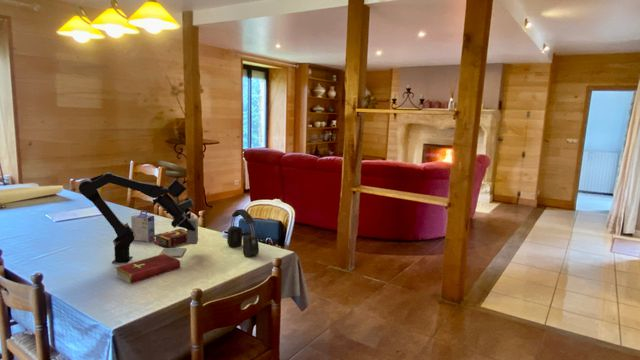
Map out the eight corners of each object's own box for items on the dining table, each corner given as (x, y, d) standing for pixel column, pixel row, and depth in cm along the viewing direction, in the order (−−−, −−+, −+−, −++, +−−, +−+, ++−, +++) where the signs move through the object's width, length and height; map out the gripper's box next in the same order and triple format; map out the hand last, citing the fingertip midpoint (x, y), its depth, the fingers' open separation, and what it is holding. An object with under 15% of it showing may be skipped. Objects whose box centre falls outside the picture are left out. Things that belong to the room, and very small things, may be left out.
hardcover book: (180, 269, 162) (180, 259, 162) (130, 285, 146) (129, 274, 146) (165, 261, 170) (164, 252, 169) (115, 276, 154) (115, 266, 153)
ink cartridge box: (155, 238, 198) (154, 211, 196) (149, 241, 193) (147, 213, 191) (138, 236, 200) (137, 209, 198) (131, 240, 195) (129, 212, 193)
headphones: (260, 256, 179) (260, 214, 176) (248, 259, 175) (248, 216, 172) (237, 243, 196) (237, 204, 193) (225, 245, 192) (225, 206, 189)
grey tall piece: (196, 244, 177) (196, 216, 175) (187, 244, 176) (186, 216, 174) (197, 241, 181) (197, 214, 179) (189, 241, 181) (188, 214, 179)
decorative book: (194, 241, 197) (193, 231, 196) (165, 249, 184) (164, 239, 183) (180, 236, 204) (180, 227, 203) (151, 244, 191) (151, 234, 190)
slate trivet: (181, 257, 174) (181, 255, 174) (158, 257, 173) (158, 255, 173) (186, 249, 184) (186, 247, 184) (164, 249, 183) (164, 248, 183)
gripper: (178, 197, 165) (205, 222, 169) (186, 189, 184) (210, 211, 187) (159, 215, 165) (187, 240, 169) (169, 205, 184) (193, 227, 187)
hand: (195, 228), depth 178 cm, fingers closed on grey tall piece, 4 cm apart
